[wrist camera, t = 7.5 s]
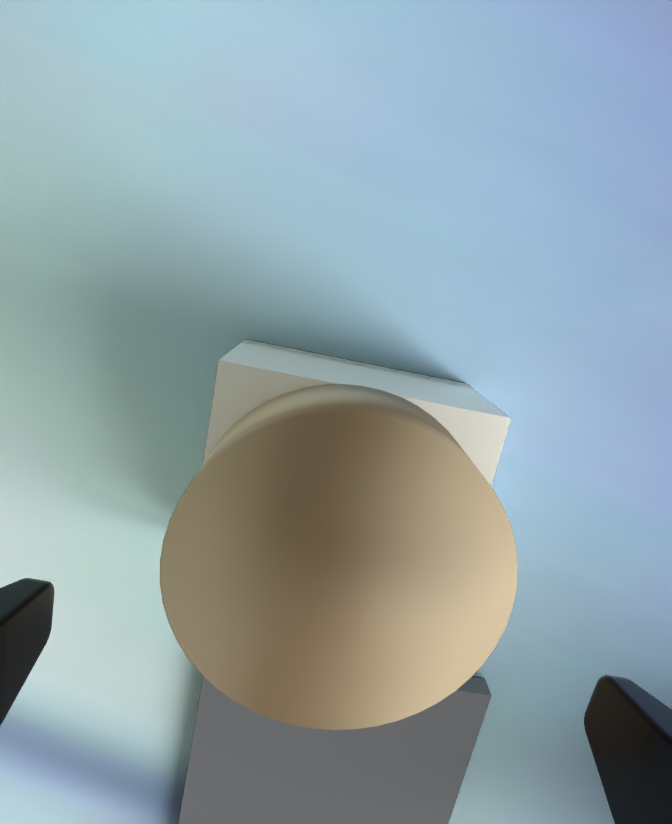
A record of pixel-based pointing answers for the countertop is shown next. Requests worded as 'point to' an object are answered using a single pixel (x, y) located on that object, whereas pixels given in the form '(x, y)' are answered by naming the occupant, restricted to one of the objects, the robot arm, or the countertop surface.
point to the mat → (329, 765)
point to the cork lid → (338, 561)
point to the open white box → (294, 369)
